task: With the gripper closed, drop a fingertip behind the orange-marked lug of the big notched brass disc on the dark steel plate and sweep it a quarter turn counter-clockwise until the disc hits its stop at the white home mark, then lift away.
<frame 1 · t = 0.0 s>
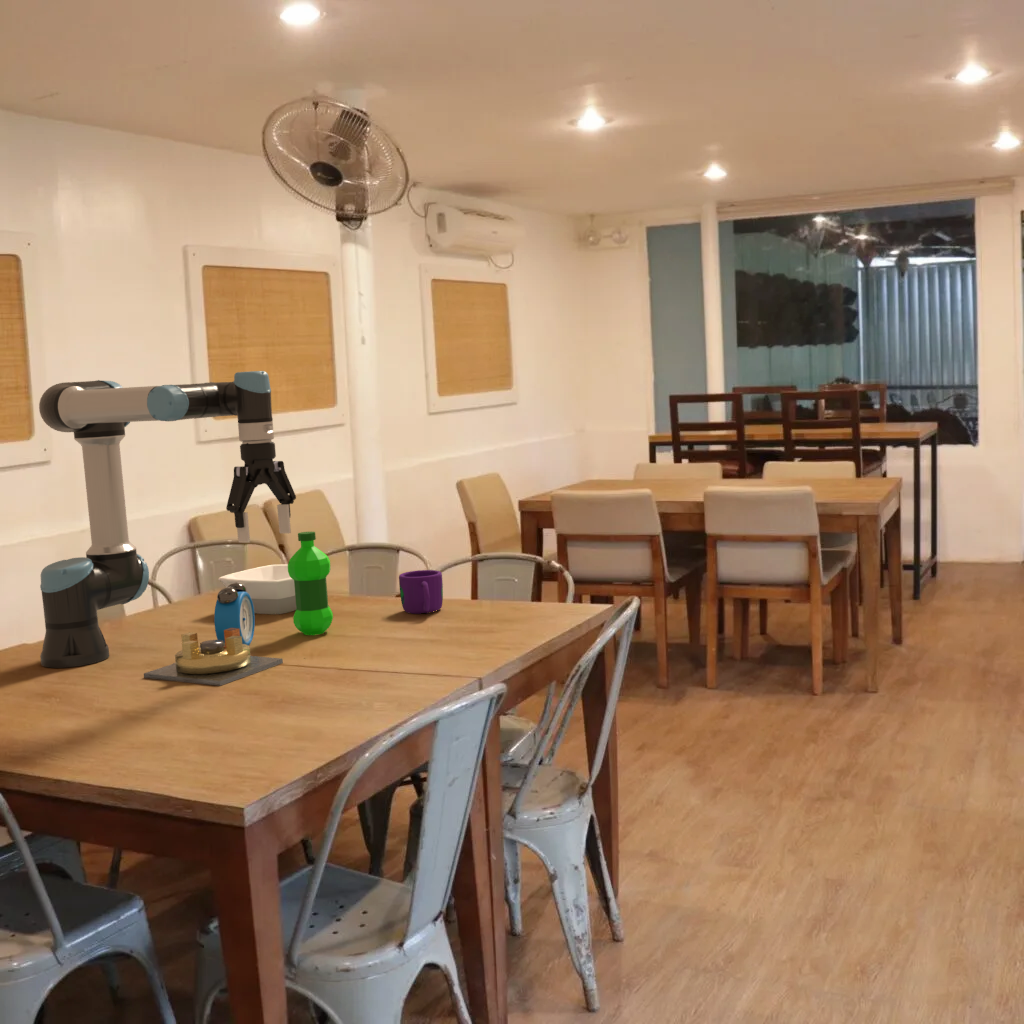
hand: (265, 537, 271), 28 cm above the table, fingers open, 13 cm apart
bowl: (278, 609, 337), on the table
spindle plate: (214, 670, 269), on the table
plastic bottle: (314, 633, 302), on the table
mug: (424, 613, 319), on the table
alarm clock: (237, 648, 291), on the table
notched brass disc: (212, 650, 268), point 5 cm above the table, hinge at 0.0°
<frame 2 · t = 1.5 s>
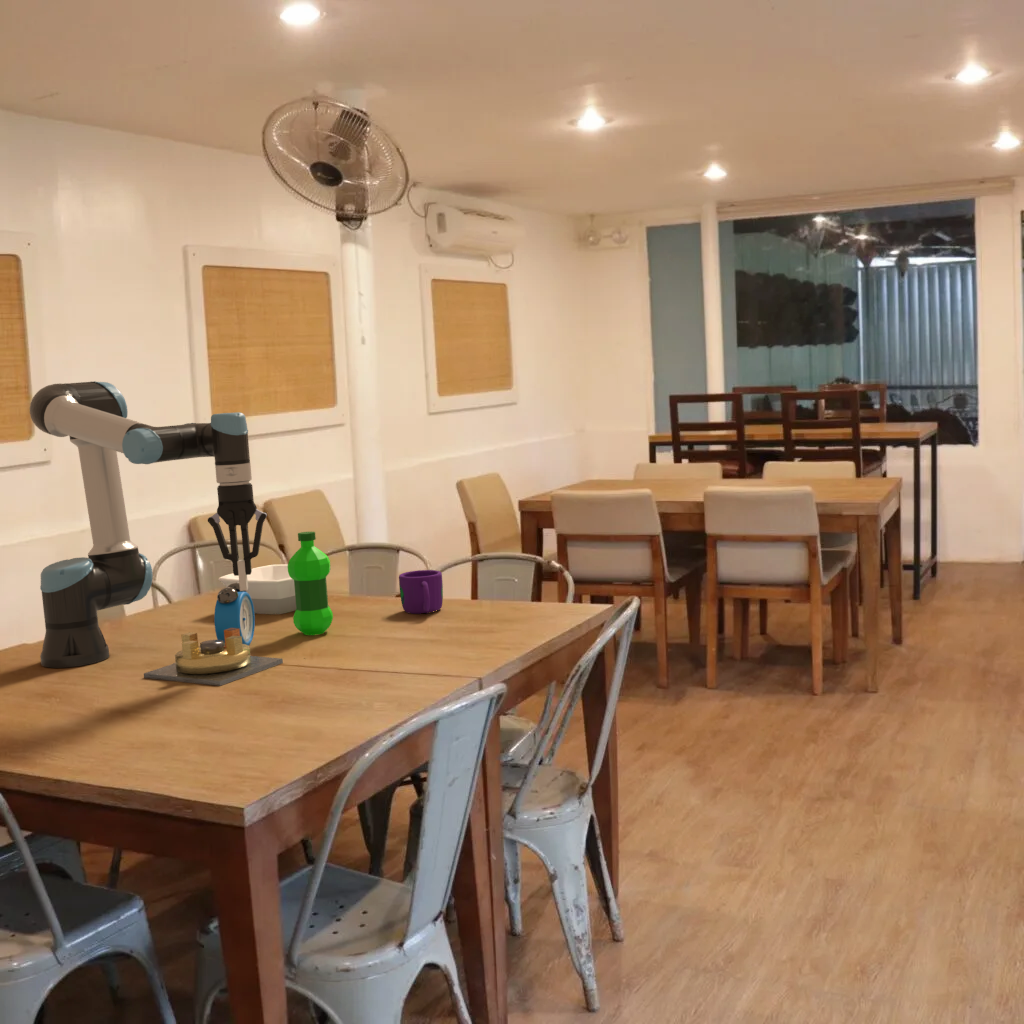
hand: (244, 589, 270), 17 cm above the table, fingers closed
nothing on the table moved.
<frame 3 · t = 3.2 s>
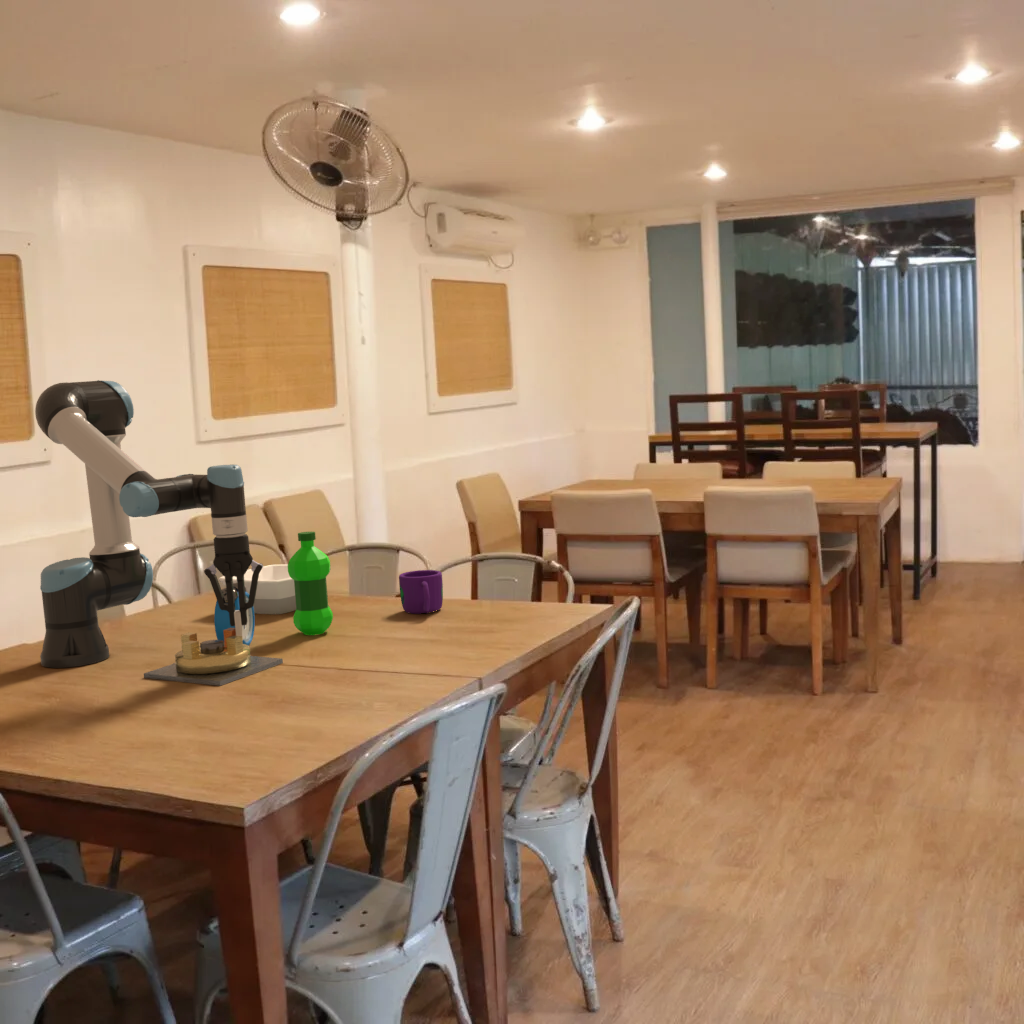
hand: (240, 639, 272), 6 cm above the table, fingers closed
notched brass disc: (212, 650, 268), point 5 cm above the table, hinge at 1.4°, touching gripper
everything else where it was.
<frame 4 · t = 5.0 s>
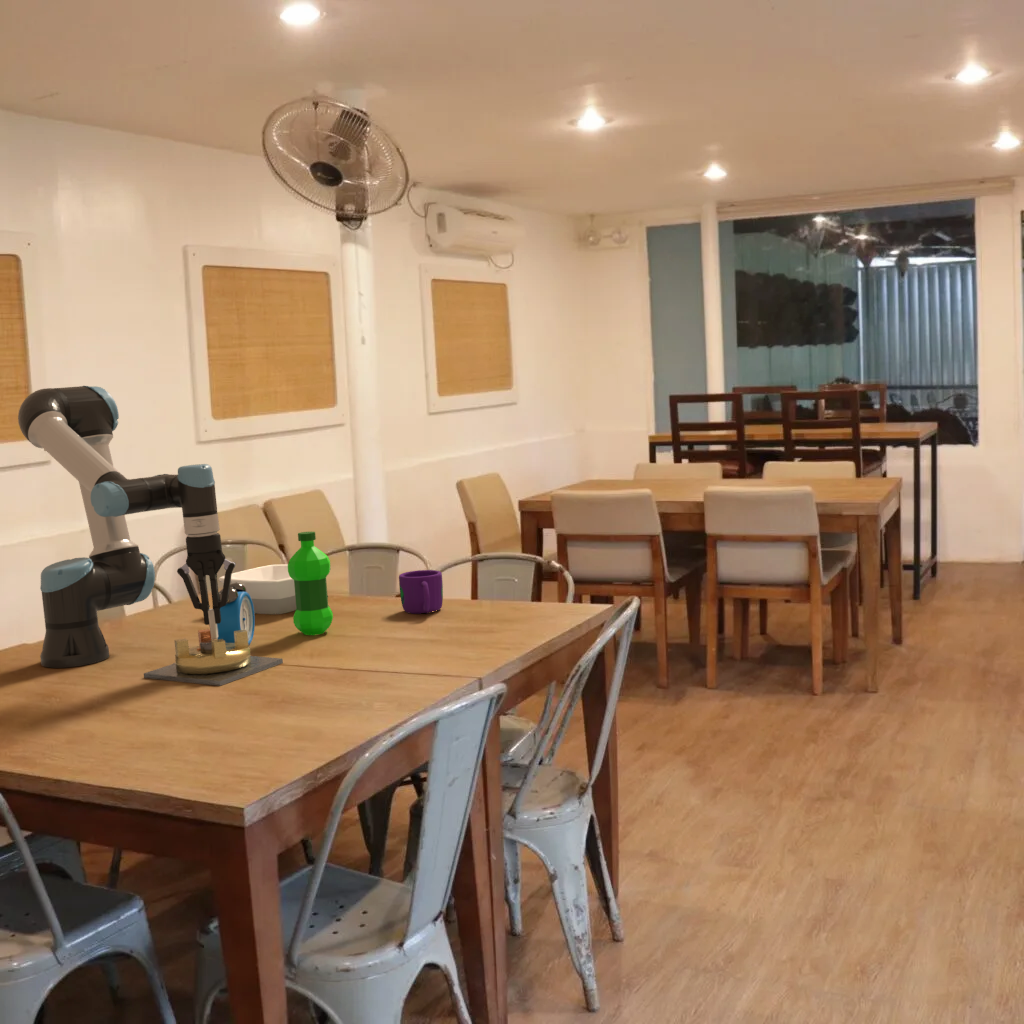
hand: (214, 638, 274), 6 cm above the table, fingers closed
notched brass disc: (212, 650, 268), point 5 cm above the table, hinge at 56.2°, touching gripper
everything else where it was.
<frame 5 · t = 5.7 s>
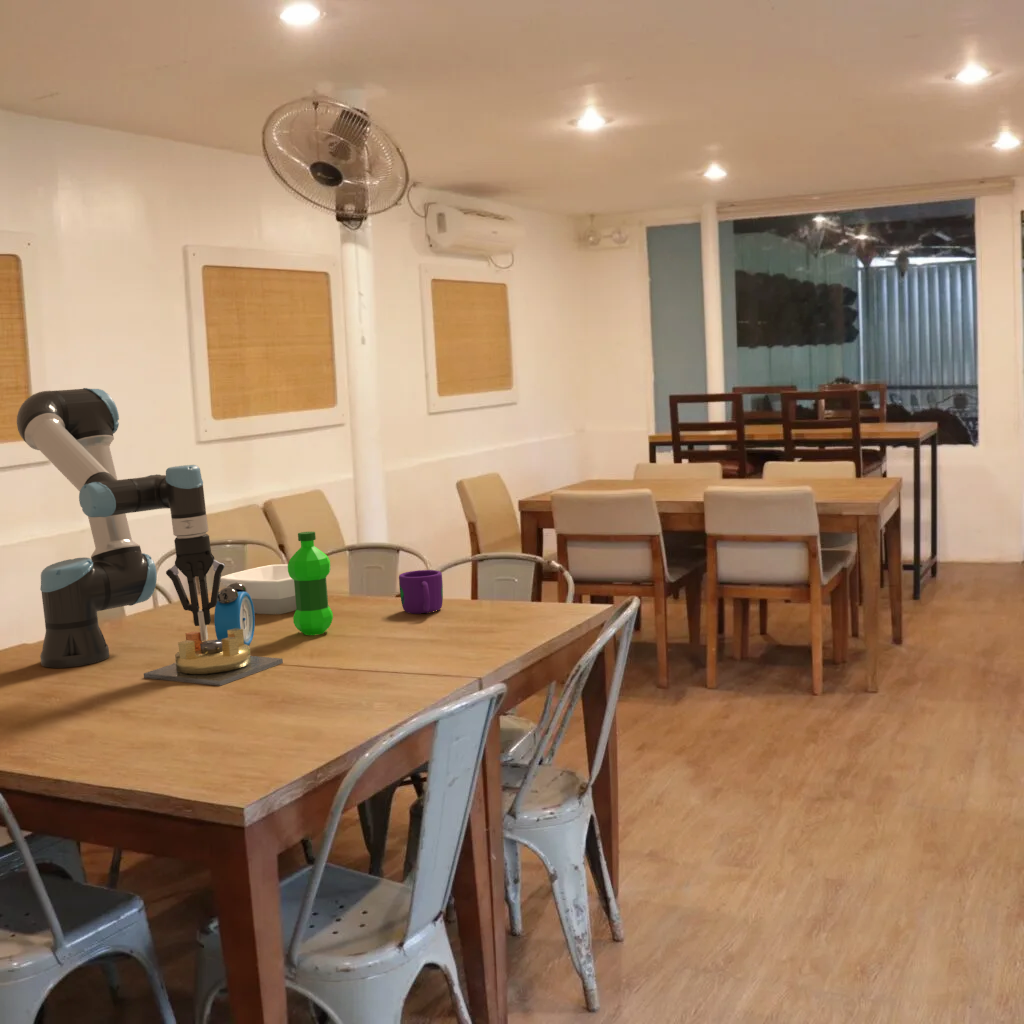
hand: (204, 639, 273), 6 cm above the table, fingers closed
notched brass disc: (212, 650, 268), point 5 cm above the table, hinge at 79.9°, touching gripper
everything else where it was.
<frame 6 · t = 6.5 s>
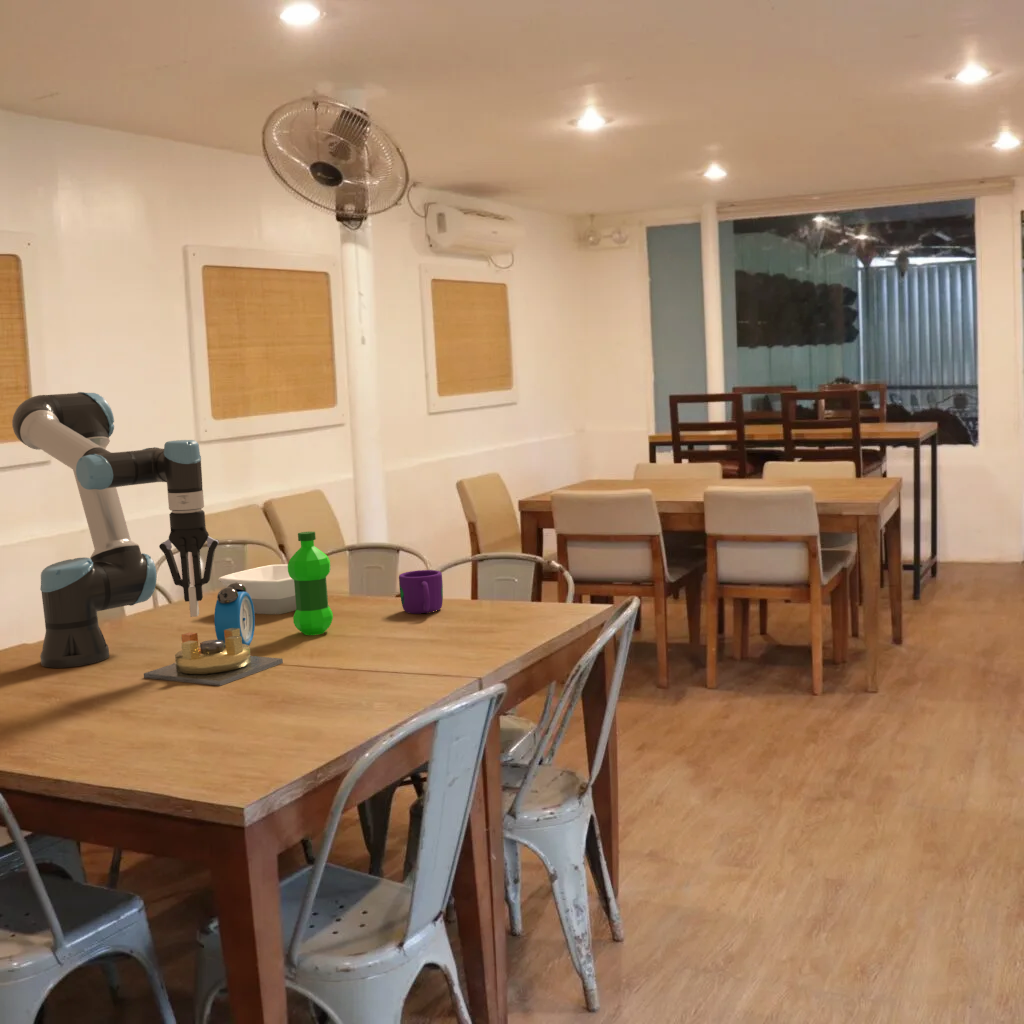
hand: (194, 615, 273), 12 cm above the table, fingers closed
notched brass disc: (212, 650, 268), point 5 cm above the table, hinge at 89.5°
everything else where it was.
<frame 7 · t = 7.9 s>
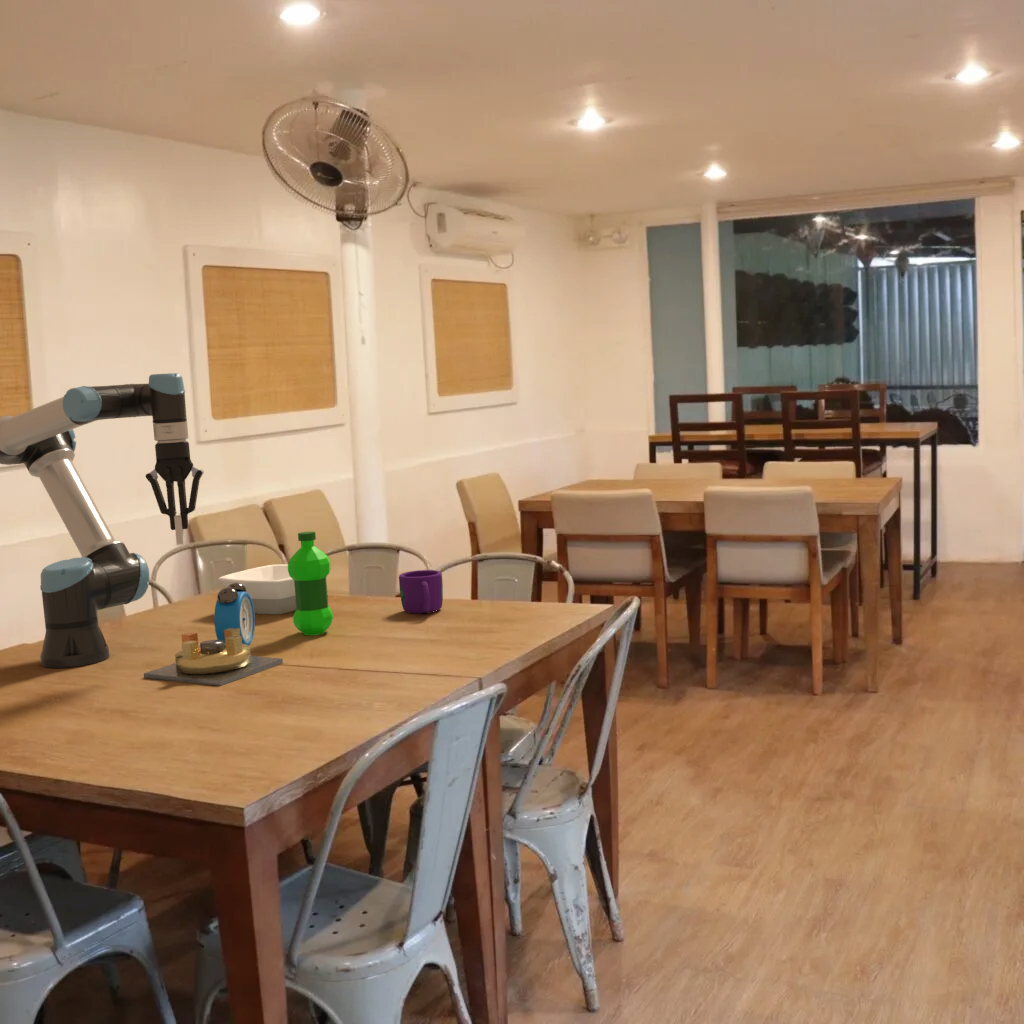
hand: (181, 543, 282), 26 cm above the table, fingers closed
nothing on the table moved.
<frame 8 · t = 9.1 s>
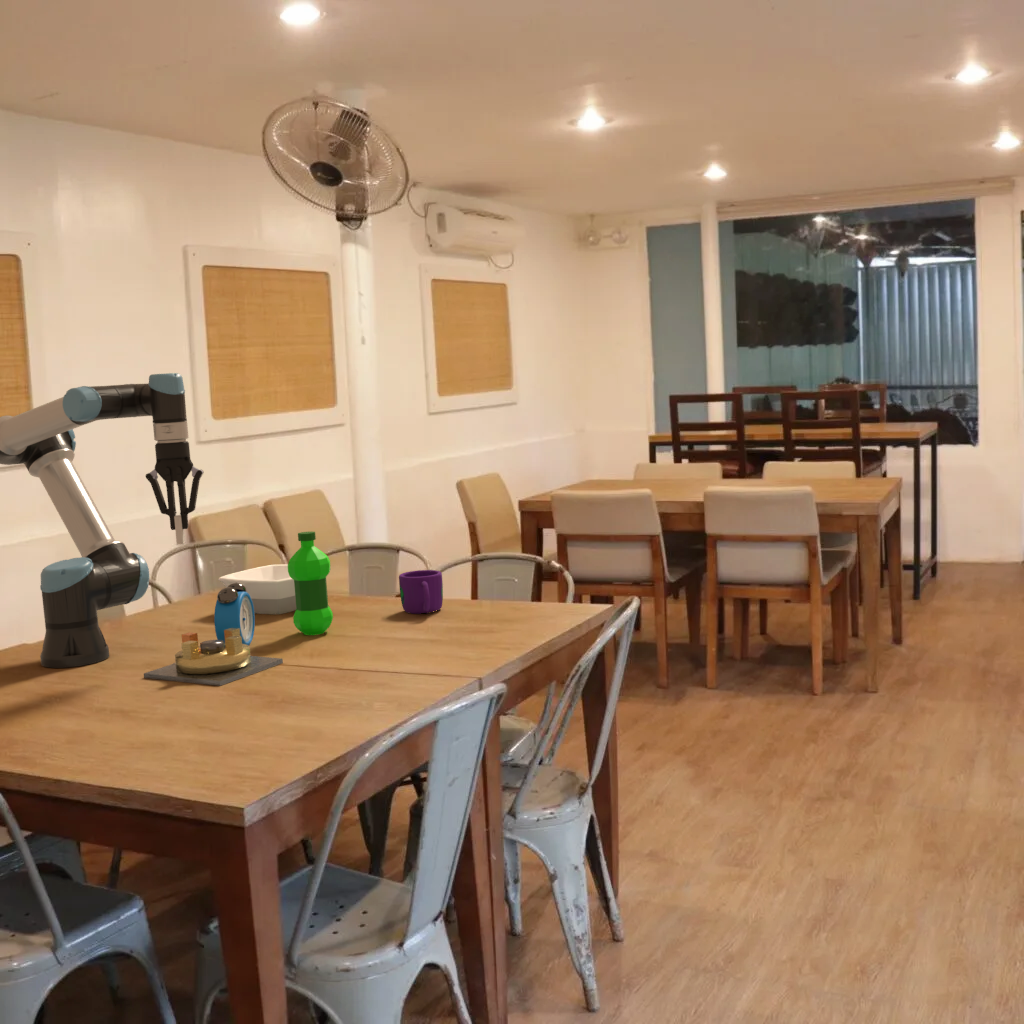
hand: (181, 543, 282), 26 cm above the table, fingers closed
nothing on the table moved.
at the end: notched brass disc at +90° (first picture: +0°) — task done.
